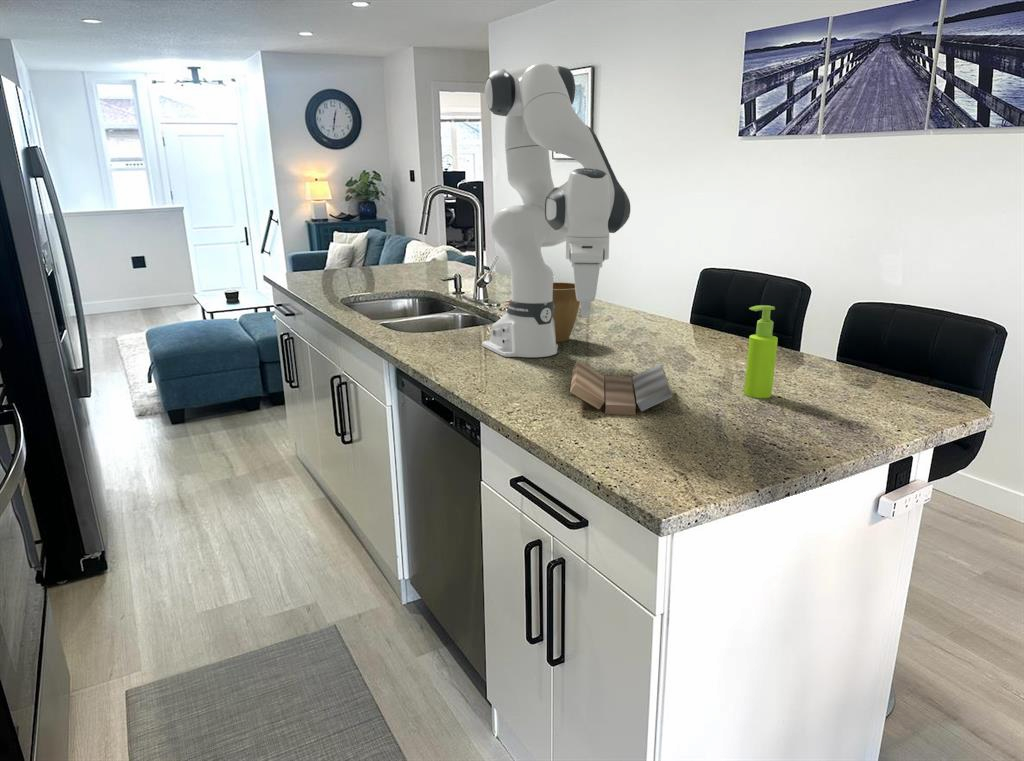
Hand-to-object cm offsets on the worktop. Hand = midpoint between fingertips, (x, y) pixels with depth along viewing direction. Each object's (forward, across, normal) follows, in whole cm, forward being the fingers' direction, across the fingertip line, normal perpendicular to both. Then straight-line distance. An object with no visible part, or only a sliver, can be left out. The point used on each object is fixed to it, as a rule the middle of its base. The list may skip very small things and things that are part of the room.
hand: (585, 316), depth 153 cm
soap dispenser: (+18, -8, +38) cm, 43 cm away
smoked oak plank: (+15, 0, 0) cm, 15 cm away
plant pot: (+17, -57, -9) cm, 60 cm away
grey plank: (+16, 0, +15) cm, 22 cm away
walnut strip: (+18, 0, +8) cm, 19 cm away
